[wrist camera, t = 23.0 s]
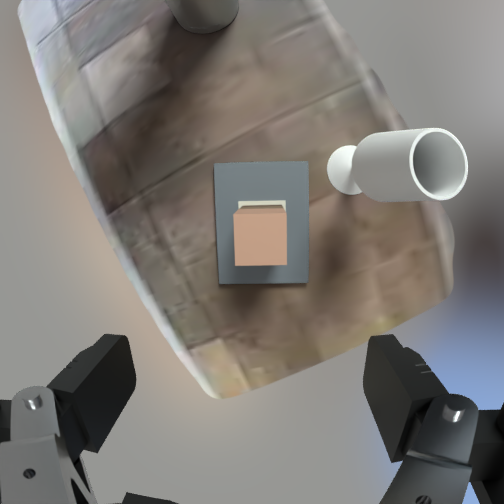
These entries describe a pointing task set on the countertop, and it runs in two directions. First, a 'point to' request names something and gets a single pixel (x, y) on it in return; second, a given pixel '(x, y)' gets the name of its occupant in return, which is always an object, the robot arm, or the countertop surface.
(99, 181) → the countertop surface
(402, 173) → the champagne flute
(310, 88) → the countertop surface
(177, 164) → the countertop surface
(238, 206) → the slate board
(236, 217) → the terracotta block
